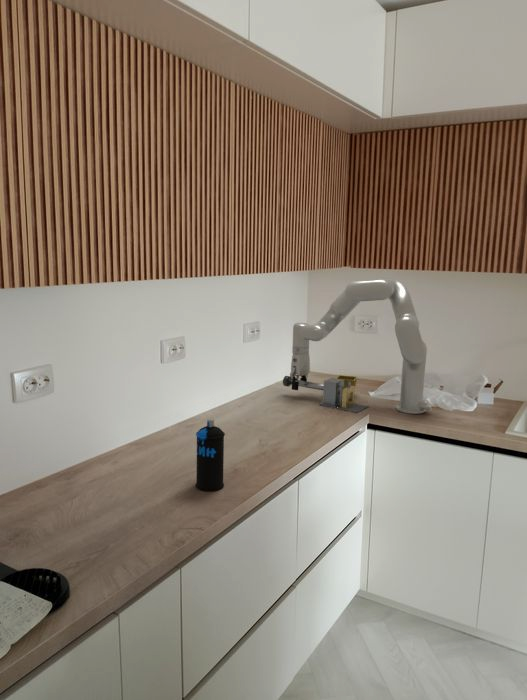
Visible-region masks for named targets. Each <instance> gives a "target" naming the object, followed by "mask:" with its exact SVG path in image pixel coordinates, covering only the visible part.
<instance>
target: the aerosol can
mask: <svg viewBox="0 0 527 700" xmlns="http://www.w3.org/2000/svg"><path fill="white" fill-rule="evenodd" d="M206 421H207V422H206V426H203V427H201V428H200V429H199V430H198V431H196V432H195V436H196V482H195V488H196V489H197V490H198V491H203V492H216V491H220V490H222V489H223V488H224V487H225V484H224V483H225V482H224V463H225V462H224V458H225V457H224V453H225V452H224V451H225V449H224V448H225V445H224V443H225V435H226V433H225V432H224V431H223V430H222V429H221V427H219V426H216V425H215V419H214V418H207V419H206Z"/></svg>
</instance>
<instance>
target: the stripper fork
mask: <svg viewBox="0 0 527 700" xmlns="http://www.w3.org/2000/svg"><path fill="white" fill-rule="evenodd" d="M349 386H351V382H348V384H347V387H349ZM343 389H344V384H343V385H341V394H340V408H342V390H343Z"/></svg>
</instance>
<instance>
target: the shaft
mask: <svg viewBox="0 0 527 700" xmlns="http://www.w3.org/2000/svg"><path fill="white" fill-rule="evenodd" d="M298 382H299V384H298V387H302V388H307V389H313V390H317V391H318V390H319V391H323V389H324V383H318V382H313V381H308V380H307V381H302V380H300V379H298ZM282 385H283V386H284V387H291V386H292V381H291V377H290V375H285V376H284V377H283V379H282ZM338 393H341V387H338Z"/></svg>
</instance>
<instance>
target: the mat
mask: <svg viewBox="0 0 527 700" xmlns="http://www.w3.org/2000/svg"><path fill="white" fill-rule="evenodd" d="M369 407H370V406H369V405H364V404H359V403H354V405H352V406H350V407H348V408H346V409H344V408H340V407H338V408H336V409H335V410H338V409H341V410H340V411H343V410H346V411H345V412H349V411H351V412H350V413H354V412H356V413H355V414H359V413H360V412H363V411H365V410H366V409H368V408H369ZM358 412H359V413H358Z"/></svg>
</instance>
